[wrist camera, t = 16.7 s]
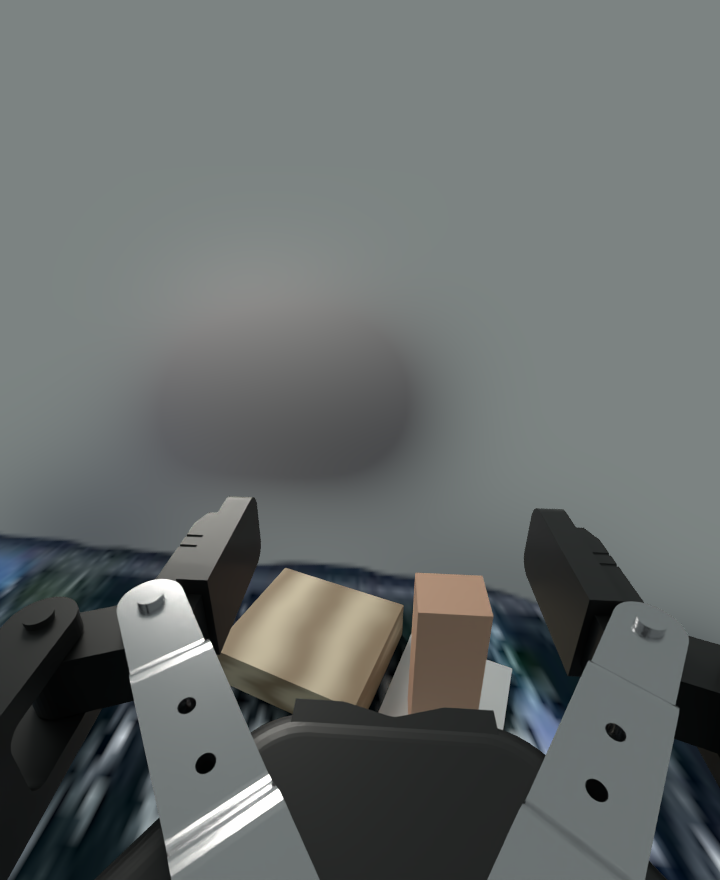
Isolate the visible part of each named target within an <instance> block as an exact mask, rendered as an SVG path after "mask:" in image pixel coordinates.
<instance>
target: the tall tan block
mask: <svg viewBox="0 0 720 880" xmlns="http://www.w3.org/2000/svg"><path fill="white" fill-rule="evenodd" d="M492 621H493V614H492V610H491V606H490V603H489V599H488V595H487V591H486V588H485V584H484V580H483V576H472V575H452V574H431V573H415V588H414V604H413V620H412V636H411V652H410V668H409V684H408V715H409V714H414V713H419V712H424V711H429V710H434V709H439V708H444V707H446V708H462V709H479V704H480V697H481V691H482V685H483V678H484V672H485V666H486V659H487V653H488V646H489V640H490V634H491V627H492Z"/></svg>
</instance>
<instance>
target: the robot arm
mask: <svg viewBox="0 0 720 880" xmlns="http://www.w3.org/2000/svg"><path fill="white" fill-rule="evenodd" d="M260 549H261V539H260V530H259V520H258V510H257V502H256V500H255V498H254V497H233V496H229V497H228V498H227V499H226V500H225V502H224V503H223V505H222V507H221V508H220V510H219V512H218V513H208V514H206V515H205V516H204V517H202V518H201V519H199V520H198V521H197V522H195V523H194V525H193V526H192V528H191V529H190V531H189V532H188V534H187V537H185V538H184V539H183V541H182V542H181V544H180V547H178V548H177V549H176V551H175V552H174V554H173V555H172V557H171V558H170V560H169V561H168V562H167V564H166V565H165V567H164V568H163V570H162V571H161V572H160V574H159V575H158V577H157V578H156V580H152V581H149V582H145V583H143V584H140V585H138V586H136V587H135V588H133V589H132V590H130V591H129V592H128V593H126V594H125V595H124V596H123V597H122V599H121V600H120V602H119V604H118V605H117V606H113V607H108V608H103V609H98V610H93V611H87V612H82V613H80V612H79V609H78V606H77V603H76V602H75V601H74V600H73V599H70V598H67V597H52V598H47V599H43V600H40V601H37V602H35V603H32V604H30V605H28V606H26V607H24V608H23V609H21V610H20V611H18V612H17V613H15V614H14V615H13V616H12V617H11V618H10V619H9V620H8V621H7V622H6V623H5V624H4V625H3V626H2V627H1V628H0V880H7V879H8V877H9V876H10V874H11V872H12V870H13V868H14V867H15V865H16V863H17V861H18V859H19V858H20V856H21V854H22V852H23V850H24V849H25V847H26V845H27V843H28V841H29V839H30V838H31V836H32V834H33V832H34V830H35V829H36V827H37V825H38V823H39V821H40V820H41V818H42V816H43V814H44V812H45V811H46V809H47V807H48V805H49V803H50V801H51V800H52V798H53V796H54V794H55V792H56V791H57V789H58V787H59V785H60V783H61V782H62V780H63V778H64V776H65V774H66V773H67V771H68V769H69V767H70V765H71V763H72V762H73V760H74V758H75V756H76V754H77V753H78V751H79V749H80V747H81V745H82V744H83V742H84V740H85V738H86V736H87V735H88V733H89V731H90V729H91V727H92V725H93V724H94V722H95V720H96V718H97V716H98V715H99V713H100V711H101V709H102V708H106V707H110V706H114V705H118V704H122V703H126V702H130V701H134V702H135V707H136V711H137V716H138V721H139V725H140V730H141V735H142V739H143V744H144V748H145V753H146V758H147V762H148V767H149V772H150V776H151V781H152V786H153V790H154V795H155V799H156V804H157V809H158V813H159V818H158V819H157V820H156V821H155V822H154V823H153V824H152V825H151V826H150V827H149V828H148V829H147V830H146V831H145V832H144V833H143V834H142V835H141V836H140V837H139V838H137V839H136V840H135V841H134V842H133V843H132V844H131V845H130V846H129V847H128V848H127V849H126V850H125V851H124V852H123V853H122V854H121V855H120V856H119V857H118V858H117V859H116V860H115V861H113V862H112V863H111V864H110V865H109V866H108V867H107V868H106V869H105V870H104V871H103V872H102V873H101V874H100V875H99V876H98V877H97V878H96V879H95V880H667V879H666V878H665V877H664V876H663V875H662V874H661V873H660V872H659V871H658V870H657V869H656V868H655V867H654V866H653V865H652V863H651V862H650V861H649V857H650V853H651V848H652V843H653V838H654V833H655V828H656V823H657V818H658V814H659V809H660V804H661V799H662V794H663V789H664V784H665V779H666V775H667V770H668V765H669V760H670V755H671V750H672V745H673V740H674V739H677V740H680V741H683V742H685V743H688V744H691V745H694V746H697V748H698V749H699V751H700V753H701V755H702V757H703V759H704V760H705V762H706V764H707V766H708V768H709V769H710V771H711V773H712V775H713V777H714V778H715V780H716V782H717V784H718V786H719V787H720V645H718V644H715V643H711V642H708V641H704V640H701V639H697V638H694V637H690V636H688V634H687V632H686V630H685V629H684V628H683V626H682V625H681V624H680V623H679V622H678V621H677V620H676V619H675V618H674V617H672V616H671V615H669V614H668V613H666V612H665V611H663V610H661V609H659V608H657V607H654V606H652V605H649V604H645V603H644V602H643V600H642V599H641V598H640V597H639V595H638V593H637V592H636V591H635V589H634V588H633V586H632V585H631V584H630V582H629V581H628V579H627V578H626V576H625V575H624V574H623V572H622V571H621V569H620V568H619V567H617V565H616V563H615V561H614V560H613V558H612V557H611V556H609V553H608V551H607V550H606V548H605V547H604V545H603V544H602V543H601V541H600V540H599V539H598V538H596V537H595V536H594V535H592V534H591V533H590V532H588V531H587V530H586V529H584V528H576V527H575V526H574V524H573V522H572V521H571V519H570V518H569V516H568V515H567V513H566V512H565V511H564V510H562V509H537V508H536V509H534V511H533V513H532V516H531V522H530V526H529V531H528V537H527V542H526V547H525V553H524V567H525V572H526V576H527V578H528V581H529V583H530V585H531V588H532V590H533V593H534V595H535V597H536V600H537V602H538V605H539V607H540V610H541V612H542V614H543V617H544V619H545V622H546V624H547V626H548V629H549V631H550V634H551V636H552V639H553V641H554V643H555V646H556V648H557V651H558V653H559V656H560V658H561V660H562V663H563V665H564V668H565V670H566V672H567V675H568V676H579V677H581V678H580V680H579V683H578V685H577V687H576V689H575V691H574V694H573V696H572V698H571V700H570V703H569V705H568V707H567V709H566V711H565V714H564V716H563V718H562V720H561V723H560V725H559V727H558V729H557V731H556V734H555V736H554V738H553V740H552V743H551V745H550V747H549V749H548V751H547V754H546V755H545V754H543V753H542V752H541V751H540V750H538V749H537V748H535V747H534V746H533V745H531V744H530V743H528V742H526V741H525V740H523V739H521V738H519V737H518V736H515V735H513V734H511V733H509V732H506V731H504V730H501V729H498V728H497V723H496V719H495V715H494V710H479V709H462V708H446V707H444V708H439V709H434V710H429V711H424V712H419V713H414V714H409V715H404V716H398V717H392V716H388V715H384V714H381V713H378V712H375V711H372V710H369V709H366V708H363V707H360V706H357V705H354V704H350V703H347V702H344V701H331V700H314V699H298V698H296V700H295V705H294V710H293V715H291V716H286V717H283V718H280V719H277V720H274V721H271V722H269V723H267V724H265V725H263V726H261V727H259V728H257V729H256V730H254V731H252V732H251V733H250V730H249V728H248V726H247V724H246V721H245V719H244V717H243V714H242V712H241V710H240V708H239V705H238V703H237V701H236V698H235V696H234V694H233V692H232V689H231V687H230V685H229V682H228V680H227V678H226V676H225V673H224V671H223V669H222V667H221V664H220V662H219V660H218V657H217V655H220V654H221V651H222V649H223V646H224V644H225V642H226V639H227V637H228V634H229V632H230V629H231V627H232V624H233V622H234V620H235V617H236V615H237V612H238V610H239V607H240V605H241V602H242V600H243V598H244V595H245V593H246V590H247V588H248V585H249V583H250V581H251V578H252V576H253V573H254V571H255V568H256V566H257V563H258V561H259V556H260Z"/></svg>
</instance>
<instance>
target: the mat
mask: <svg viewBox="0 0 720 880" xmlns="http://www.w3.org/2000/svg"><path fill="white" fill-rule="evenodd" d="M411 636H412V634H411ZM411 636H410V638H409V641H408V643H407V646H406V648H405V650H404V653H403V655H402V657H401V660H400V662H399V664H398V667H397V669H396V672H395V674H394V676H393V679H392V681H391V683H390V686H389V688H388V691H387V693H386V695H385V698H384V700H383V702H382V705H381V707H380V710H379V712H378V713H381V714H384V715H388V716H392V717H398V716H404V715H408V684H409V668H410V652H411ZM511 673H512V668H509V667H506V666H503V665H500V664H497V663H494V662H491V661H489V660H486V666H485V672H484V678H483V685H482V691H481V697H480V704H479V710H494V715H495V719H496V723H497V728H498V729H501V730H503V727H504V720H505V713H506V707H507V700H508V693H509V686H510V680H511Z"/></svg>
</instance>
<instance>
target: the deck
mask: <svg viewBox="0 0 720 880" xmlns="http://www.w3.org/2000/svg"><path fill="white" fill-rule="evenodd" d="M402 622H403V605H401V604H398V603H394V602H391V601H388V600H385V599H382V598H379V597H376V596H372V595H369V594H366V593H363V592H360V591H357V590H353V589H350V588H347V587H344V586H341V585H338V584H334V583H331V582H328V581H325V580H322V579H319V578H316V577H312V576H309V575H306V574H303V573H300V572H297V571H293V570H290V569H287V568H285V569H284V570H283V571H282V572H281V573H280V574H279V576H278V577H277V578H276V579H275V580H274V581H273V582H272V583H271V584H270V586H269V587H268V588H267V589H266V590H265V591H264V592H263V593H262V594H261V596H260V597H259V598H258V599H257V600H256V601H255V602H254V603H253V604H252V606H251V607H250V608H249V609H248V610H247V611H246V612H245V613H244V614H243V615H242V617H241V618H240V619H239V620H238V621H237V622H236V623H235V624H234V625H233V627H232V628H231V629H230V632H229V634H228V637H227V639H226V642H225V644H224V646H223V649H222V651H221V654H220V655H217V657H218V660H219V662H220V664H221V667H222V669H223V671H224V673H225V676H226V678H227V680H228V682H229V685H230V686H232V687H234V688H237V689H239V690H241V691H243V692H245V693H248V694H250V695H252V696H254V697H256V698H258V699H261V700H263V701H265V702H267V703H269V704H272V705H274V706H276V707H278V708H280V709H282V710H285V711H287V712H289V713H291V714H293V710H294V705H295V700H296V698H298V699H314V700H331V701H344V702H347V703H350V704H354V705H357V706H360V707H363V708H366V709H369V707H370V705H371V703H372V701H373V698H374V696H375V694H376V692H377V689H378V687H379V685H380V683H381V680H382V678H383V676H384V674H385V671H386V669H387V667H388V665H389V662H390V660H391V658H392V656H393V653H394V651H395V649H396V647H397V645H398V642H399V640H400V638H401V636H402Z"/></svg>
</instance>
